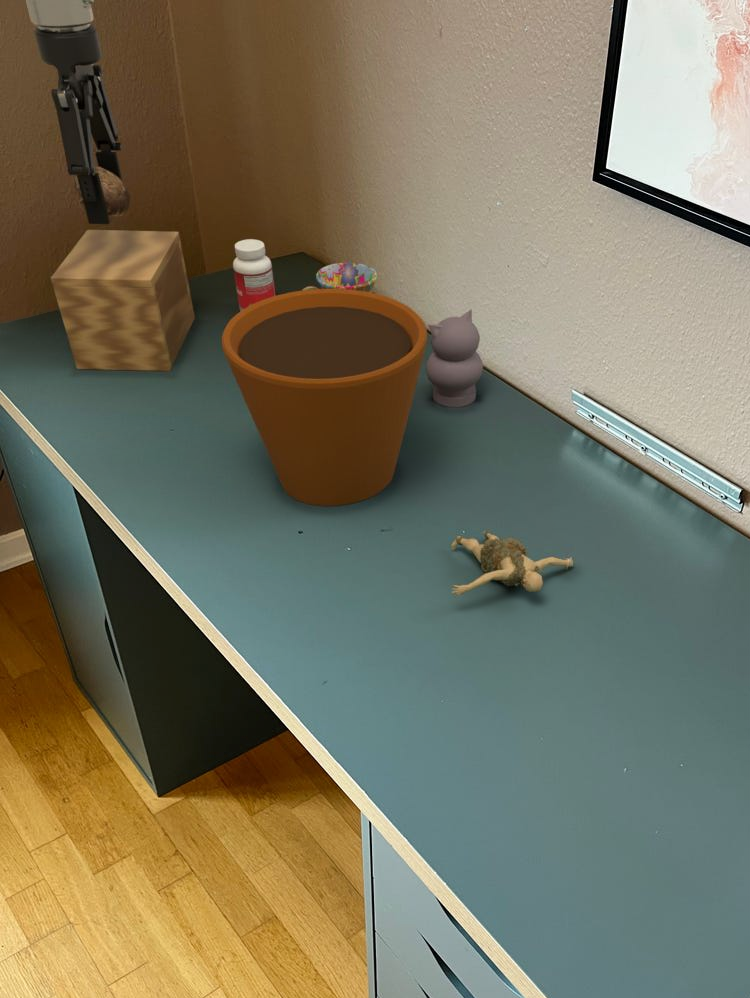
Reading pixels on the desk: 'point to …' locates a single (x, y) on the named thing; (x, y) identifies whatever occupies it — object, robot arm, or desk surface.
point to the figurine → (506, 563)
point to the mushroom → (109, 193)
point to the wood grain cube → (125, 300)
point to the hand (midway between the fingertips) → (108, 211)
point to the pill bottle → (252, 273)
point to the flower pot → (328, 387)
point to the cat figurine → (454, 361)
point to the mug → (346, 277)
